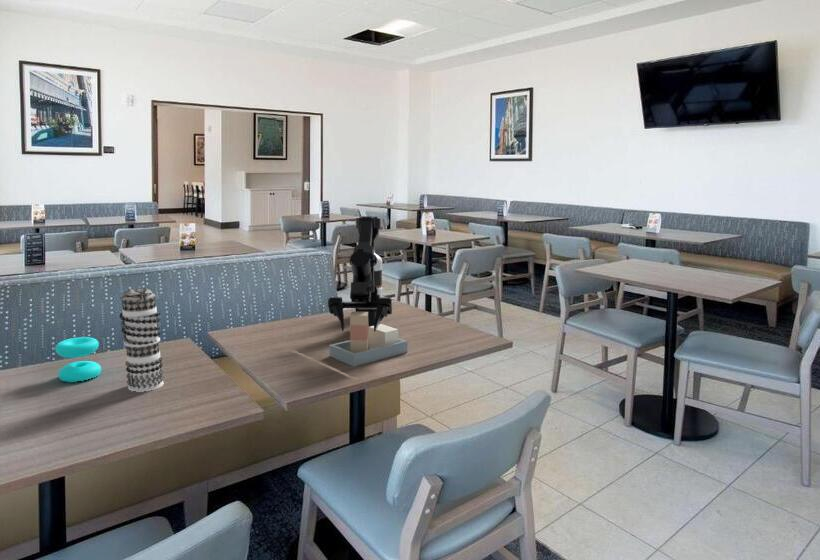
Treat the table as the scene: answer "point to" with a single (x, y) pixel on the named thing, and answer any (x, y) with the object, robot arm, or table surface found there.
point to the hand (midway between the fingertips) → (358, 330)
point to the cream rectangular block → (382, 336)
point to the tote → (366, 352)
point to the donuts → (81, 368)
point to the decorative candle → (141, 340)
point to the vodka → (378, 274)
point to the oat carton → (359, 331)
